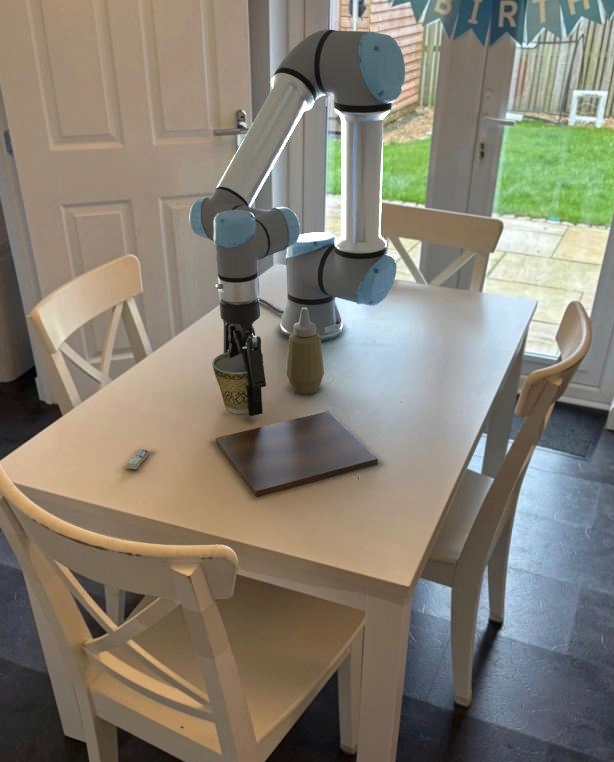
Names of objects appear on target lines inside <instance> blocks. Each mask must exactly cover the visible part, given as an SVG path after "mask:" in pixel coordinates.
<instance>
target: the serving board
mask: <svg viewBox="0 0 614 762" xmlns="http://www.w3.org/2000/svg"><path fill="white" fill-rule="evenodd" d="M215 443H216V445H217V446H218V448H219V449H220V450H221V452H222V453H223V454H224V456H225V457H226V458H227V460H228V461H229V462H230V464H231V465H232V466H233V468H234V469H235V471H236V472H237V473H238V475H239V476H240V477H241V479H242V480H243V481H244V482H245V484H246V485H247V487H248V489H250V491H251V492H252V494H253V495H254V496H255V497H256V498H258V497H262V496H265V495H269V494H272V493H275V492H279V491H283V490H288V489H290V488H294V487H298V486H301V485H306V484H310V483H312V482H316V481H319V480H323V479H328V478H331V477H335V476H339V475H342V474H347V473H350V472H353V471H356V470H360V469H364V468H368V467H372V466H375V465H378V464H379V458H378V457H377V456H376V455H375V454H374V453H373V452H372V451H371V450H369V448H368V447H367V446H366V445H365V444H363V443H362V442H361V441H360V440H359V439H358V438H357V437H356V436H355V435H354V434H353V433H352V432H351V431H350V430H349V429H348V428H347V427H346V426H345V425H344V424H343V423H342V422H341V421H339V420H338V419H337V417H335V416H334V415H333V414H332V413H331V412H330V411H329V410H327V411H323V412H318V413H314V414H310V415H306V416H302V417H298V418H294V419H289V420H285V421H281V422H276V423H272V424H268V425H263V426H260V427H255V428H250V429H247V430H242V431H238V432H234V433H230V434H229V433H228V434H226V435H221V436H217V437H215Z"/></svg>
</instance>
